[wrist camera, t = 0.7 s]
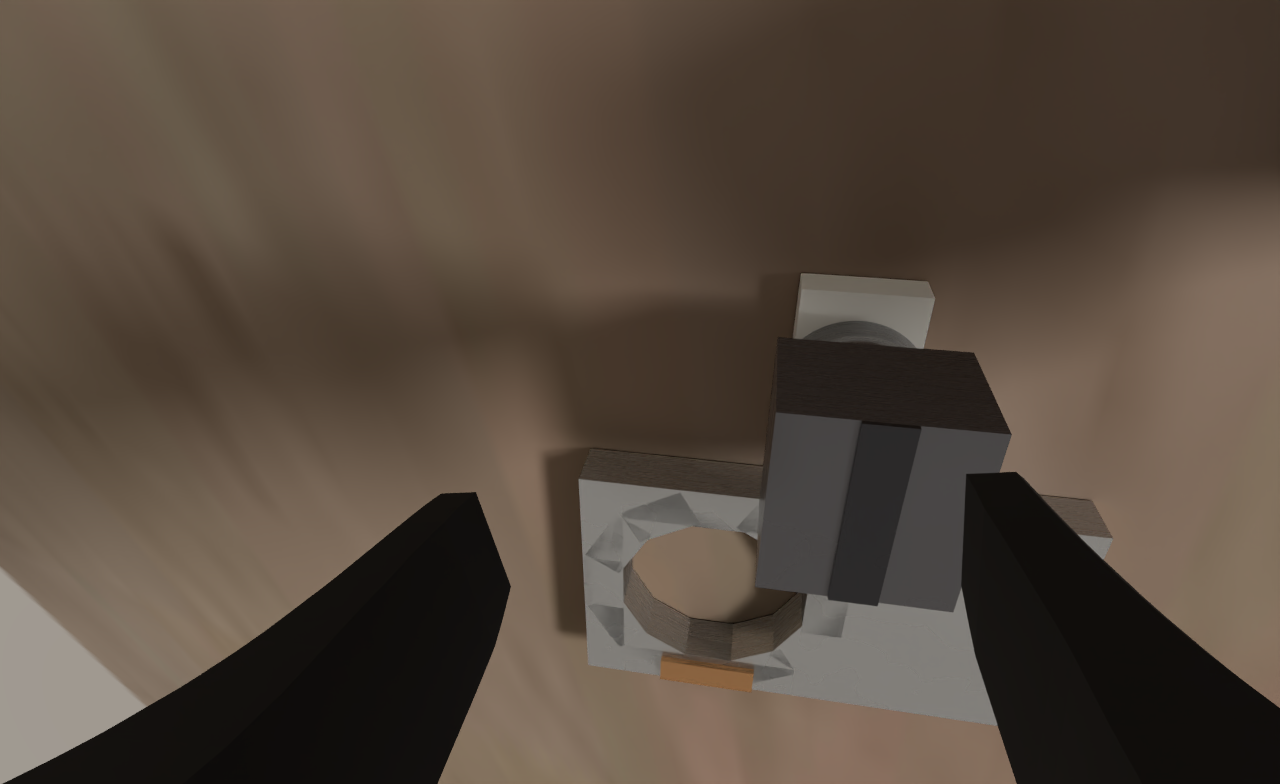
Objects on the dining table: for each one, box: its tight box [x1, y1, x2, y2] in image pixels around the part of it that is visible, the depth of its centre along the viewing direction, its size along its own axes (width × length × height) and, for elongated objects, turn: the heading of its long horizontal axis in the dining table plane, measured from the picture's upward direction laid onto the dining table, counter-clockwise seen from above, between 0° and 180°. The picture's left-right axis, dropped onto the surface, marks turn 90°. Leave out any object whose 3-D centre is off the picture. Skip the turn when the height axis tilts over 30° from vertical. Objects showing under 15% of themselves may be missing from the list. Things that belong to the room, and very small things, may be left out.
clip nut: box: [755, 321, 1012, 612], centre depth 16 cm, size 4×4×5 cm
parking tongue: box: [793, 273, 935, 349], centre depth 19 cm, size 3×5×1 cm, turn 0°
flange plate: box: [579, 448, 1113, 726], centre depth 22 cm, size 14×8×2 cm, turn 90°
